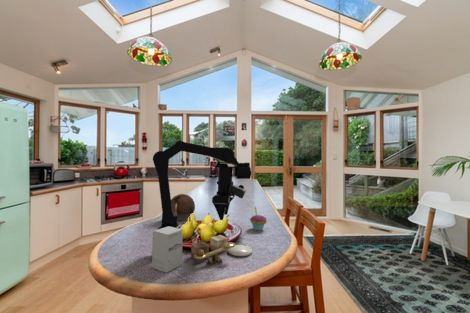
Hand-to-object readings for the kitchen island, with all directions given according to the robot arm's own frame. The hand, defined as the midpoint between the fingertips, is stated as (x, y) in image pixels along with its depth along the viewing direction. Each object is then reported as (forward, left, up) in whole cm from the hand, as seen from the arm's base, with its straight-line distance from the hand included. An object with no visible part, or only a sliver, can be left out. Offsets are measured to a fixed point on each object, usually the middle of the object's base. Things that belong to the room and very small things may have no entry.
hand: (223, 217), depth 102 cm
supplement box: (-24, -6, -13) cm, 28 cm away
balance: (-8, -10, -13) cm, 18 cm away
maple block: (-2, 0, -13) cm, 13 cm away
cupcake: (+28, +17, -13) cm, 36 cm away
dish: (+5, -6, -13) cm, 15 cm away
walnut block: (-11, -4, -13) cm, 18 cm away
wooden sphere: (-3, +51, -13) cm, 53 cm away
